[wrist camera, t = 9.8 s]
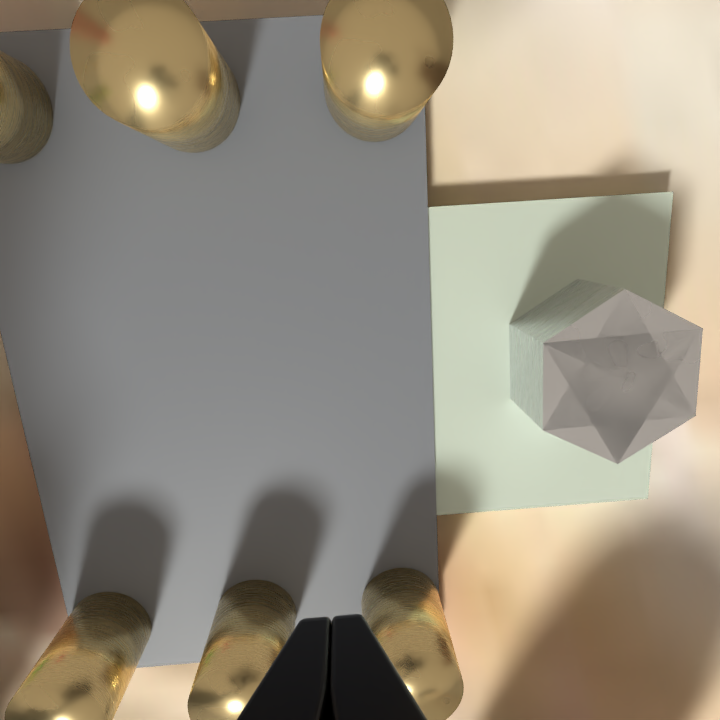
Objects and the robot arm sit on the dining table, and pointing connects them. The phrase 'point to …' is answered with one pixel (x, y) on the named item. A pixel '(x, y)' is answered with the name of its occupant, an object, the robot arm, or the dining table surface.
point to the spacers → (194, 135)
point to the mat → (491, 341)
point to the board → (222, 344)
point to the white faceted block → (604, 368)
